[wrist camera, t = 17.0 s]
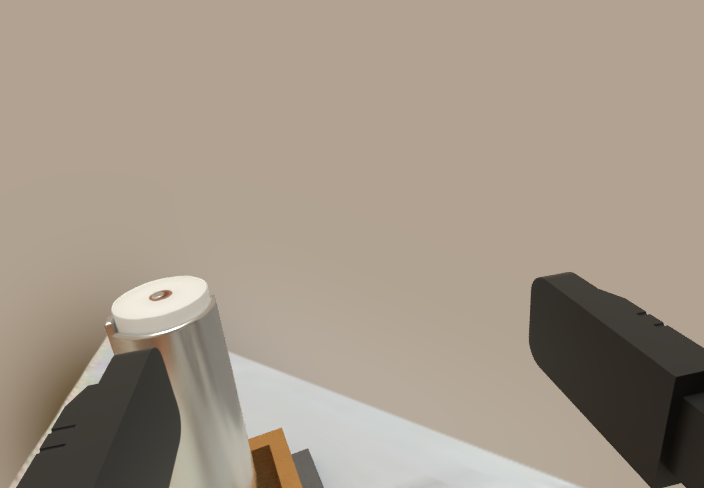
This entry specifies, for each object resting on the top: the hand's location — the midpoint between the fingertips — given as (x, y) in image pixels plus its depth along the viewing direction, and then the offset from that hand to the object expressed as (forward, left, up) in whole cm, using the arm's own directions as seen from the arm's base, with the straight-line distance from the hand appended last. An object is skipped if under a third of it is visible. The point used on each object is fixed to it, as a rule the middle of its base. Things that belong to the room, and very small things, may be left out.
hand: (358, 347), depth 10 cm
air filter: (+6, -20, -31) cm, 38 cm away
